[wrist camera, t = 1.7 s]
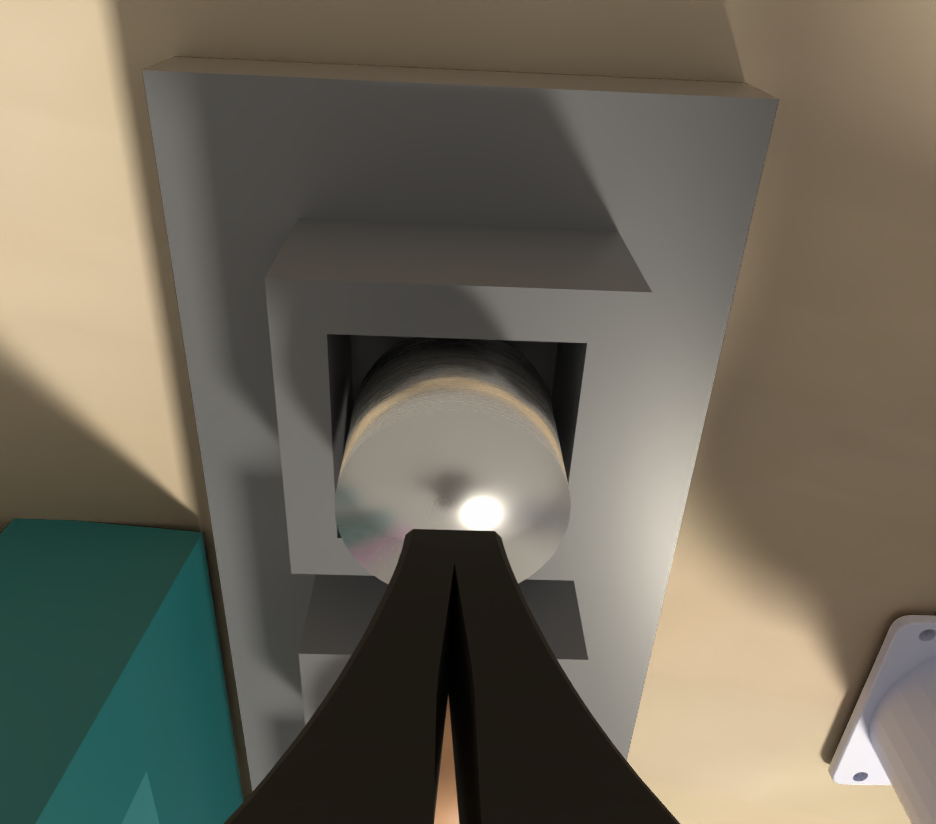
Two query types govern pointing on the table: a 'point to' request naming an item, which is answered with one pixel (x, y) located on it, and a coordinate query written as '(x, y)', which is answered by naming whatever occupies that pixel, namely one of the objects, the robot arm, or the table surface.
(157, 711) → the teal l-shaped bracket
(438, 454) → the knob
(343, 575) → the control panel
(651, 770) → the table surface
